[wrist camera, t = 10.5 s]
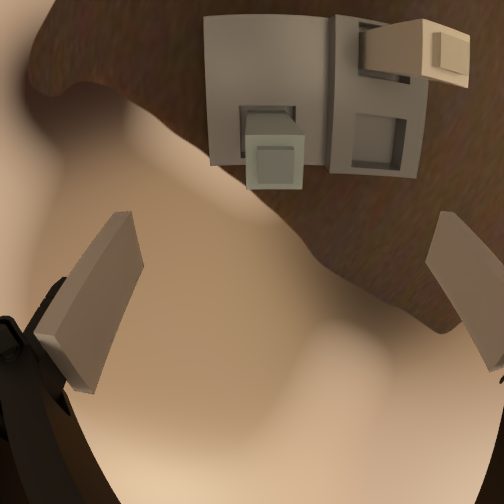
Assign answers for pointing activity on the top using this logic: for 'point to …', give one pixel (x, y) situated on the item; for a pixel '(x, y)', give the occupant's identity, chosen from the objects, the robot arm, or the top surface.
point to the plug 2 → (417, 51)
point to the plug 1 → (273, 151)
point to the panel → (311, 92)
